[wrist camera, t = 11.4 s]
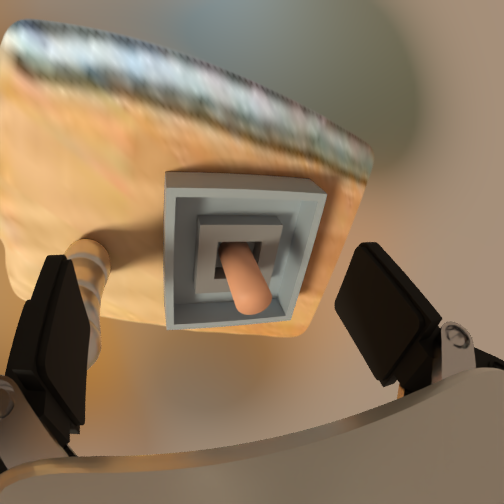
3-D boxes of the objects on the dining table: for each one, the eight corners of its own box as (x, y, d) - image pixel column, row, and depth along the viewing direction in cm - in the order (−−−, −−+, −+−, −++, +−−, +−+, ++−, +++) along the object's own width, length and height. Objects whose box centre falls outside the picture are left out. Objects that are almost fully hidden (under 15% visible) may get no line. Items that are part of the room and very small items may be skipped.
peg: (219, 236, 39) (238, 287, 31) (250, 236, 40) (275, 285, 32) (216, 262, 41) (233, 316, 33) (245, 262, 43) (268, 313, 35)
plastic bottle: (116, 238, 36) (102, 373, 20) (107, 280, 39) (98, 412, 23) (69, 227, 34) (24, 357, 18) (64, 270, 36) (33, 399, 20)
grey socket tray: (165, 171, 34) (166, 187, 30) (309, 178, 39) (327, 194, 35) (164, 305, 44) (166, 330, 40) (279, 298, 50) (290, 320, 46)
